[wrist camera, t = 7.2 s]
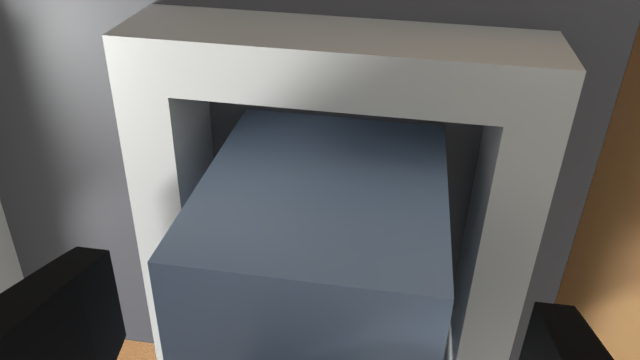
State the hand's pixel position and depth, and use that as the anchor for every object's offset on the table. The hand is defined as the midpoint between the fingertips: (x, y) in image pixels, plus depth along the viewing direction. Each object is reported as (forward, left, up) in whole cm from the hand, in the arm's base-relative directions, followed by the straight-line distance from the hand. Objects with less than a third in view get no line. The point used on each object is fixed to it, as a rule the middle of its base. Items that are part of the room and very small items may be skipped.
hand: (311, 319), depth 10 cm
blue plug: (0, 0, -3) cm, 3 cm away
